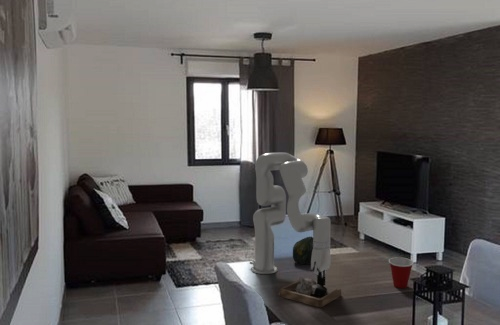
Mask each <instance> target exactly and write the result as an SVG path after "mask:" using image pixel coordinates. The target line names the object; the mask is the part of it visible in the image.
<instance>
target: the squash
mask: <svg viewBox="0 0 500 325" xmlns="http://www.w3.org/2000/svg"><path fill="white" fill-rule="evenodd" d="M312 250H313V236H307V237H304V238H302V239H300V240H298V241H297V242H295V243H294V245H293V247H292V259H293V261H294V262H295V264H300V265H305V264H311V256H312Z"/></svg>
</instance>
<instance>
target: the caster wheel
mask: <svg viewBox="0 0 500 325" xmlns="http://www.w3.org/2000/svg"><path fill="white" fill-rule="evenodd" d="M298 280H299V282H298V285H297V289H296V290H295V292H296V293H300V294H304V295H308V296H311V295H317V296H320V297H321V296H322V297H324V296H326V295H327V294H328V293H327V292H328V288H327V287H326V286H325V285H324V286H322V285H320V284H317V281H316V280H315V279H313V278H303V277H299V279H298Z"/></svg>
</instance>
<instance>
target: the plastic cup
mask: <svg viewBox="0 0 500 325" xmlns="http://www.w3.org/2000/svg"><path fill="white" fill-rule="evenodd" d="M388 263H389V265H390V269H391V278H392V283H393V287H394V288H396V289H397V288H398V289H406V288H408V284H409V281H410V275H411V271H412V267H413V265H414V263H415V262H414V261H413V260H412V259H410V258H406V257H402V256H401V257H396V256H395V257H392V258H389V259H388Z"/></svg>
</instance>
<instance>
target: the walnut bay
mask: <svg viewBox="0 0 500 325" xmlns="http://www.w3.org/2000/svg"><path fill="white" fill-rule="evenodd" d="M298 282H299V279H297V280H295V281H294V282H291V283H289V284H287V285H284V286H283V287H281V288H279V289H278V296H279V297H282V298H285V299H289V300H293V301H296V302H300V303H303V304H306V305H310V306H313V307H318V308H322V307H324V306H326V305H328V304H329V303H331V302H333V301H335V300H336V299H338V298H339V297H341V296H342V288H340V287H339V288H336V289H335V290H332V291H331V292H329V293H326V295H325V296H322V297H321V298H319V297H318V298H317V297H315V296H311V295H310V296H308V295H304V294H300V293H297V292H296V289H297V285H298Z"/></svg>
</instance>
